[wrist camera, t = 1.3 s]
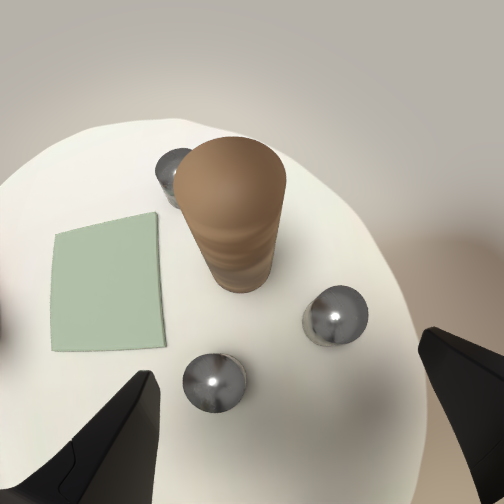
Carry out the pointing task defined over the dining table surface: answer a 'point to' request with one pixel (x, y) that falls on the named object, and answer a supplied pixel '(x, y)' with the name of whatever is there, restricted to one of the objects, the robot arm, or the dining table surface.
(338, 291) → the cylinder
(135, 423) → the robot arm
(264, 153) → the walnut post
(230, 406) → the cylinder
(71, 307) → the mat
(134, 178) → the dining table surface
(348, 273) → the dining table surface
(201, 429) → the dining table surface
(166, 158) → the cylinder
